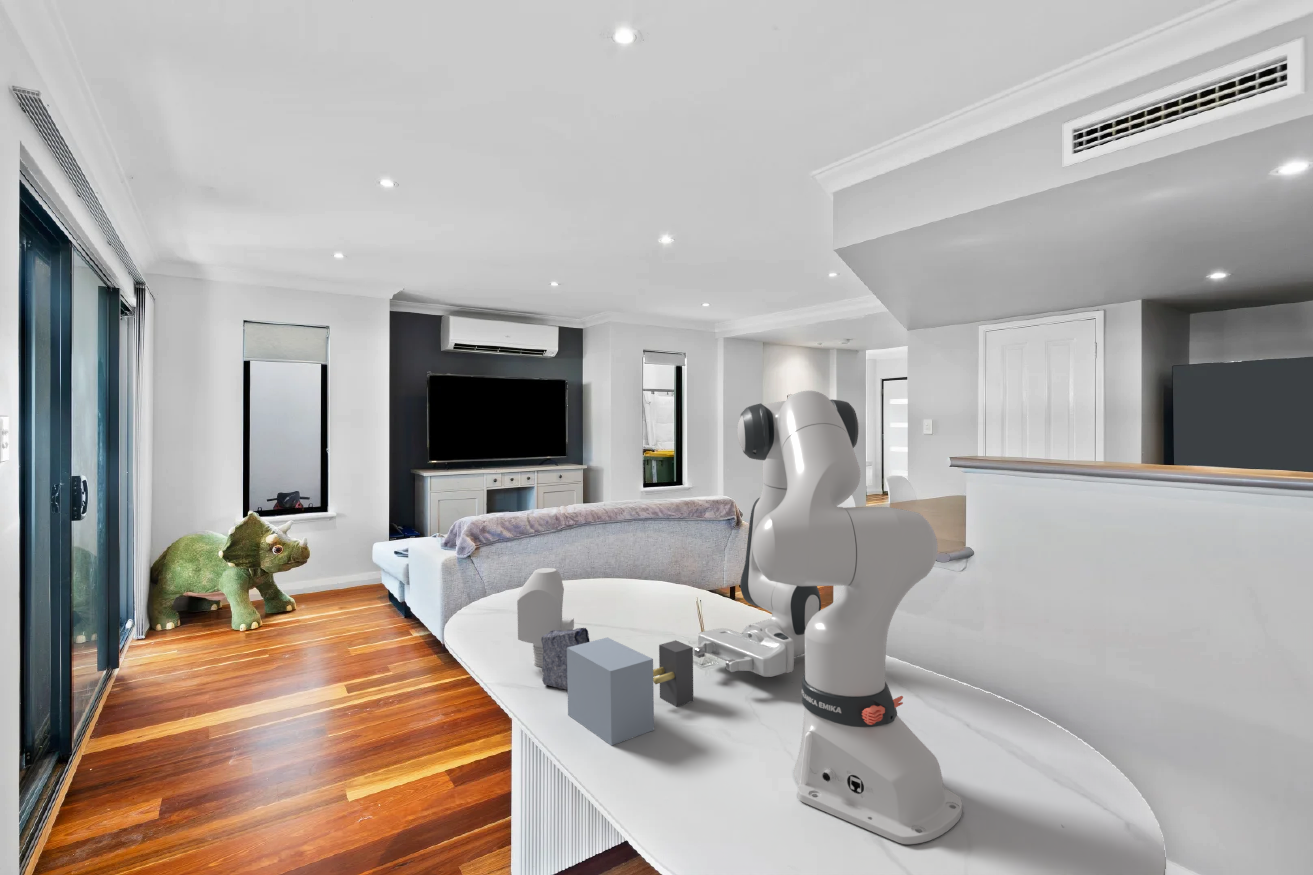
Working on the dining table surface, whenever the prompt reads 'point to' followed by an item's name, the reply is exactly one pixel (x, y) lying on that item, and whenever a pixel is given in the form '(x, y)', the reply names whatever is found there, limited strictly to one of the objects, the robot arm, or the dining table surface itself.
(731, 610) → the dining table surface
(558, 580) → the light fixture
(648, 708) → the socket
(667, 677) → the plug
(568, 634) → the stone
